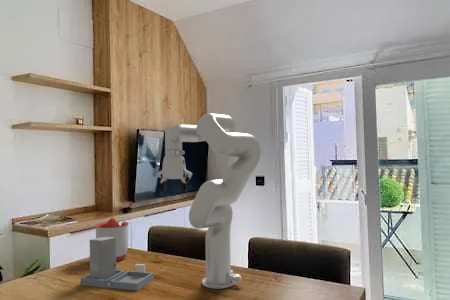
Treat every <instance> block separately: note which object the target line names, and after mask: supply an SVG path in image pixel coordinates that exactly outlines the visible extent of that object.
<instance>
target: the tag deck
mask: <svg viewBox="0 0 450 300" xmlns="http://www.w3.org/2000/svg"><path fill="white" fill-rule="evenodd" d="M134 267H135V270H127V271H126V270H124V269H118V261H117V262H116V275H114V276H112V277H110V278H109V279H107V280H103V279H92V278H90V273H89V274H86V275H85V276H82V277H81V278H80V282H79V285H80V286H88V287H99V288H105V287H106V288H109V289H115V288H116V289H117V290H127V291H139V290H141V289H142V288H144V287H145V286H146V285H148V284H149V283H151V282H152V281H154V280H155V276H154V274H155V273H154V272H148V271H146V264H145V263H144V264H141V263H136V264H135V265H134Z"/></svg>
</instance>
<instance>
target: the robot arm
mask: <svg viewBox="0 0 450 300" xmlns="http://www.w3.org/2000/svg"><path fill="white" fill-rule="evenodd" d="M198 120H199V121H198V122H197V123H196V124H183V123H180V124H179V123H176V124H173V125H170V126H169V125H168V126H166V127H165V129H164V149H165V150H164V157H163V161H162V169H161V170H159V171H158V172H156V173H155V176H156V178H157V180H158V181H159V182H160V184H161V192H162V193H166V192H167V180H181V182H182V183H181V192H182V193H186V192H187V190H188V182H189V181H190V180H191V178H192V176H193V173H192V172H191V171H189V170H187V167H186V166H187V165H186V161H185V157H184V156H183V155H185V153H186V151H185V150H183V143H199V142H205V143H207V144H208V145H209V146H210V148H211V149H212V150H213V151H214V153H215V154H216V155H219V156H220V157H224V158H225V157H226V158H227V157H228V158H229V157H234V158H235V157H237V158H235V160H234V161H232V162H231V163H230V165H229V166H228V167H227V169H226V172H225V173H224V175H223V176H222V177H221V178H219V179H209V180H207V181H205V182H203V183H202V185H200V187H199V189H198V191H197V193H196V195H195V197H194V199H193V202H192V204H191V206H190V209H189V212H188V221H189V223H190V225H191V227H192V228H195V229H197V230H198V229H199V230H202V229H207V231H206V234H205V277H203V278H202V280H201V284H202V286H203V287H206V288H207V289H215V290H217V289H218V290H219V289H221V290H222V289H227V288H230V287H233V286H234V285H235V283H236V282H242V276H241V275H240V274H237V273H236V274H235V273H234V270H233V269H231V261H232V260H231V226H232V220H233V208H232V206H231V205H233V204H235V203H236V202H237V201H238V199H239V198H240V196H241V194H242V193H243V191H244V189H245V187H246V184H247V183H248V181H249V179H250V177H251V175H252V174H253V172H254V171H255V169H256V168H257V166H258V165H259V162H260V159H261V153H262V151H261V144H260V141H259V139H257V137H255V135H252V134H249V133H243V132H235V130H236V128H237V127H236V122H235V120H234V119H233V118H232V117H231V116H230V115H228V114H227V115H226V114H218V113H205V114H203V115H202V116H201V117H200V118H199V119H198ZM161 175H162V176H161Z"/></svg>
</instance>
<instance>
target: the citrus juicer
mask: <svg viewBox="0 0 450 300" xmlns="http://www.w3.org/2000/svg"><path fill="white" fill-rule="evenodd" d="M129 224H130V223H129V222H128V221H122V222H121V224H119V222H118V221H117V220H116V219H115V218H113V217H111V218H110V219H108V221H106V222H100V223H97V224H95V225H94V227H95V239H96V238H101V237H116V262H117V263H118V262H119V261H122V260H124V259H125V258H126V256H127V252H128V248H129Z"/></svg>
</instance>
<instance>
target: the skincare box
mask: <svg viewBox="0 0 450 300" xmlns="http://www.w3.org/2000/svg"><path fill="white" fill-rule="evenodd" d="M89 274H90V278H92V279H103V280H107V279H109V278H110V277H112V276H114V275H116V237H101V238H96V237H95V238H91V239H89Z"/></svg>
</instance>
